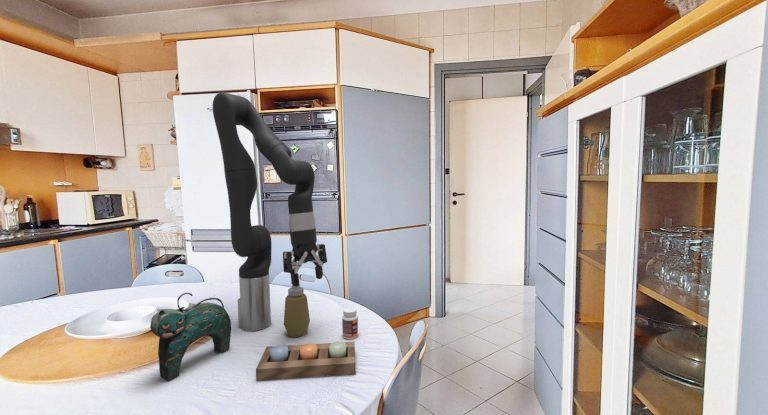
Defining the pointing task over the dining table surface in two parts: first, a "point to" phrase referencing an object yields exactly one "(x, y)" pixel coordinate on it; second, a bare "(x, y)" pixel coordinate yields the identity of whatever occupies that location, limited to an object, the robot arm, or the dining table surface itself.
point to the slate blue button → (279, 353)
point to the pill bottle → (350, 323)
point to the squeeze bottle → (296, 312)
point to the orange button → (308, 351)
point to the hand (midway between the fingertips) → (308, 282)
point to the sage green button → (337, 350)
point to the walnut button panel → (306, 364)
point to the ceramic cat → (188, 332)
